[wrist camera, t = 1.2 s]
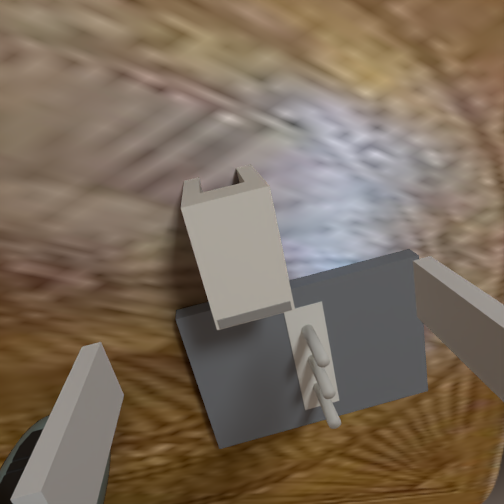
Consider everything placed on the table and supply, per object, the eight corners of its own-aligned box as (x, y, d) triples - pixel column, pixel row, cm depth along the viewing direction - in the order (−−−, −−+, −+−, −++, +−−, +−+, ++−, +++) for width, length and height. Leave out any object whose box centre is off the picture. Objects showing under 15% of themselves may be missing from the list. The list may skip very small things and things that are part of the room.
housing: (211, 277, 32) (217, 331, 25) (184, 180, 29) (180, 208, 22) (272, 261, 32) (295, 310, 25) (250, 164, 29) (269, 186, 22)
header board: (218, 436, 38) (222, 493, 32) (176, 310, 33) (172, 353, 27) (419, 380, 39) (457, 427, 33) (409, 249, 34) (451, 278, 28)
